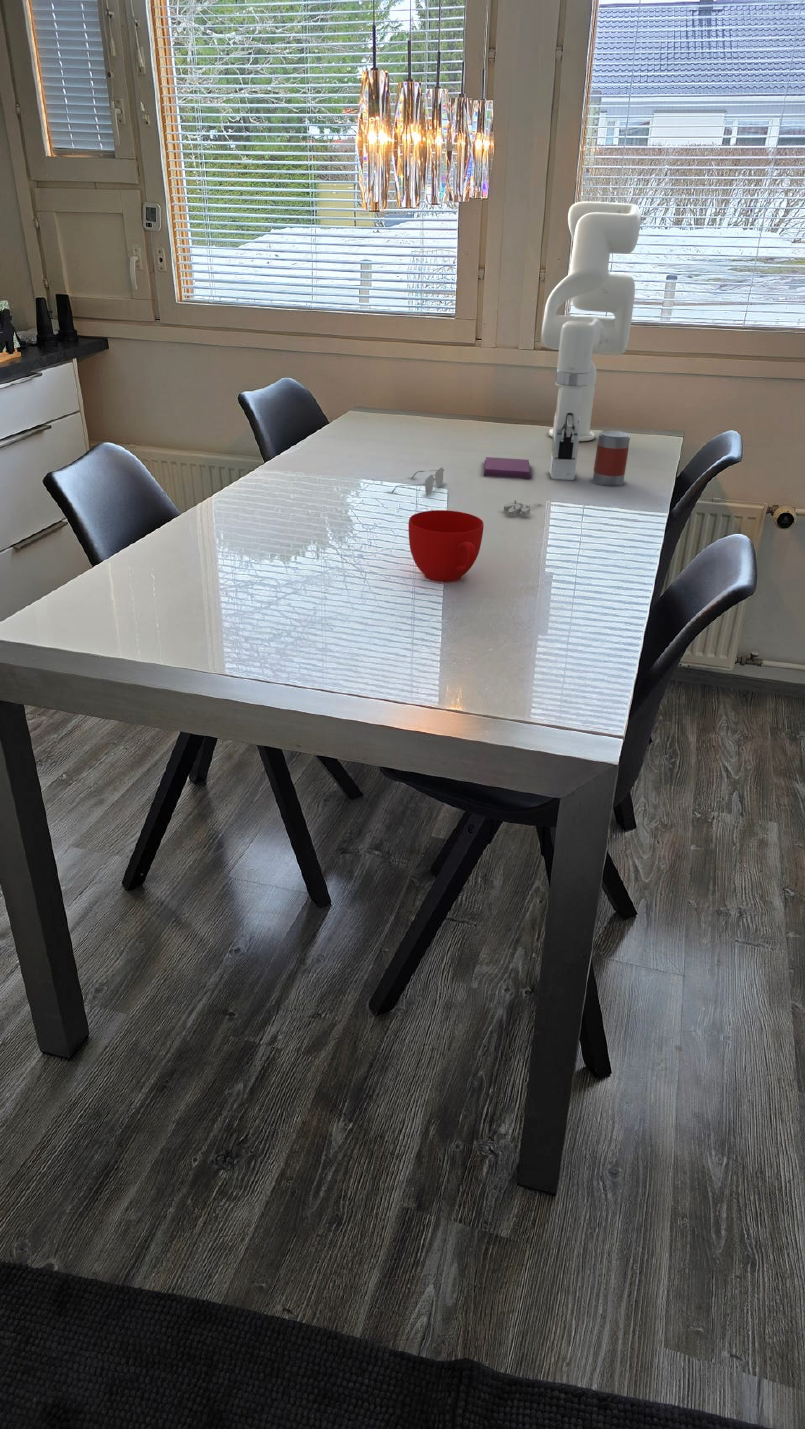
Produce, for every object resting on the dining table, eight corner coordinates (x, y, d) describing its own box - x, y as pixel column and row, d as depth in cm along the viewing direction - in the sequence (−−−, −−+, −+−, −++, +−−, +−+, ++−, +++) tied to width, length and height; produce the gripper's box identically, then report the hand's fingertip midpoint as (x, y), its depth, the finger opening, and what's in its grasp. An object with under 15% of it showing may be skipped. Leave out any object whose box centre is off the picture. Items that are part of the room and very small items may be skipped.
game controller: (499, 515, 210) (500, 503, 209) (514, 502, 220) (515, 490, 218) (525, 519, 208) (526, 507, 207) (539, 506, 218) (541, 494, 217)
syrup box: (575, 480, 238) (582, 418, 231) (550, 479, 238) (557, 416, 231) (571, 474, 243) (579, 412, 236) (547, 472, 243) (554, 411, 236)
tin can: (591, 476, 241) (597, 429, 236) (621, 478, 241) (628, 431, 235) (593, 485, 235) (600, 436, 229) (625, 487, 234) (632, 438, 229)
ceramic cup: (434, 601, 166) (438, 543, 161) (394, 567, 180) (396, 513, 175) (503, 592, 171) (508, 536, 166) (459, 560, 184) (463, 507, 180)
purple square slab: (484, 463, 248) (485, 456, 247) (528, 466, 248) (529, 459, 247) (483, 476, 238) (484, 469, 237) (529, 479, 237) (530, 472, 236)
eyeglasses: (425, 498, 219) (424, 479, 218) (391, 496, 222) (390, 478, 220) (444, 482, 231) (444, 465, 229) (412, 481, 234) (411, 463, 232)
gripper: (554, 371, 237) (546, 444, 245) (557, 385, 222) (549, 462, 230) (586, 373, 237) (577, 446, 245) (591, 387, 222) (581, 464, 230)
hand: (563, 454), depth 238 cm, fingers open, 9 cm apart
